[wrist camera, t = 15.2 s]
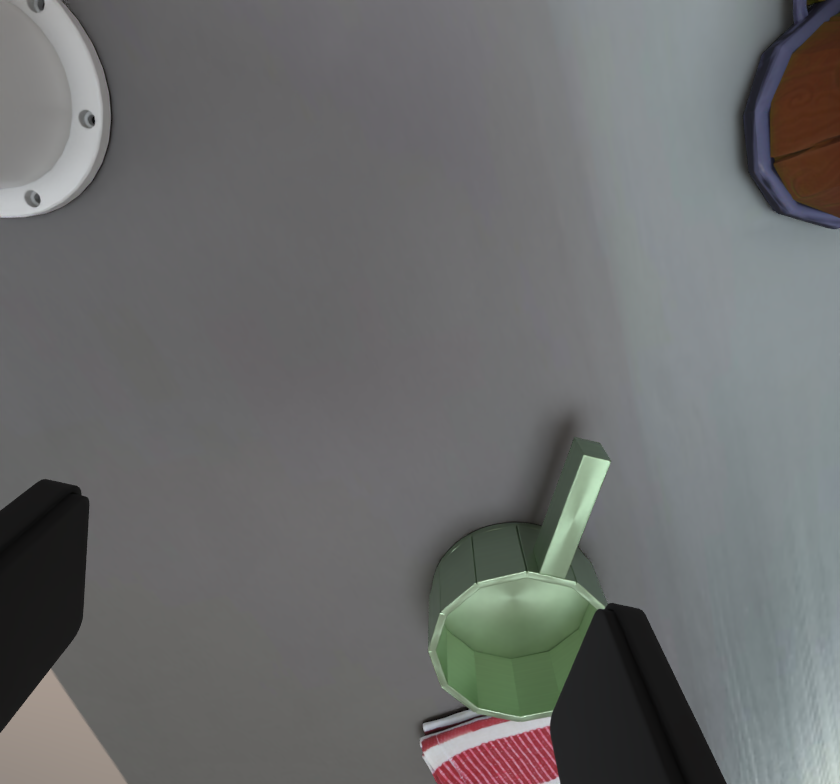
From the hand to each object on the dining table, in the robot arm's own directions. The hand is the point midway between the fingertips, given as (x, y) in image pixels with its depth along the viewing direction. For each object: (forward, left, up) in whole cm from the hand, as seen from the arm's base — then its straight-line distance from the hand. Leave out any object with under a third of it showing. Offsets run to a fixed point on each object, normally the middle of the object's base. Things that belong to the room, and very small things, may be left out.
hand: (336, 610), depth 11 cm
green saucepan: (+12, -14, -26) cm, 32 cm away
